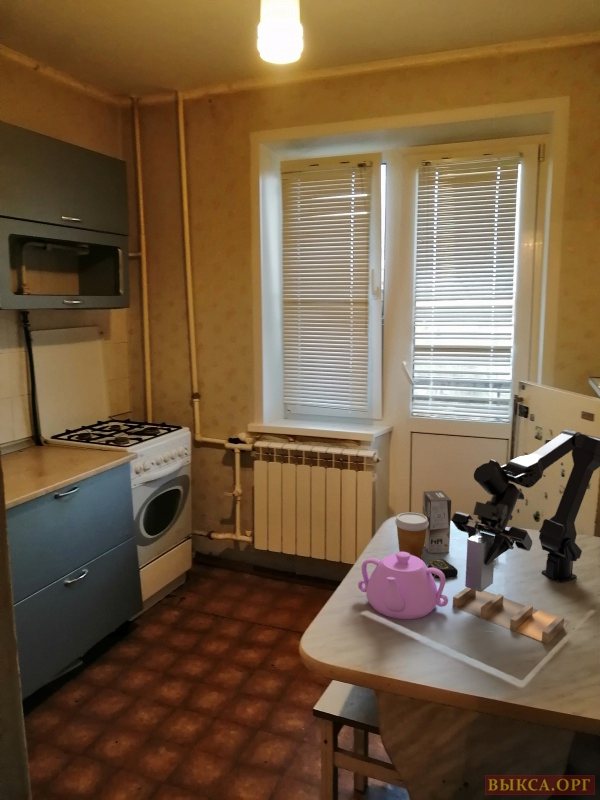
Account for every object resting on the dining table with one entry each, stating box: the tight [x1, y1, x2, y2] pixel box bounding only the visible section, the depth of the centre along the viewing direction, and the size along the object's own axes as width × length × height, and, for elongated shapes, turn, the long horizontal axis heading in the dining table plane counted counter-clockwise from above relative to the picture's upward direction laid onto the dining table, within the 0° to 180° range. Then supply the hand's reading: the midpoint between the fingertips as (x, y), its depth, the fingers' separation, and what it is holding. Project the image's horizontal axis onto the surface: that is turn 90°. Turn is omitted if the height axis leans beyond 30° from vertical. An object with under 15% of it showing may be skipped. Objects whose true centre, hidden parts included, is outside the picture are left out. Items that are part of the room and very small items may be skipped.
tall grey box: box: [464, 531, 495, 592], centre depth 145 cm, size 6×4×12 cm, turn 136°
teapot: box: [357, 551, 449, 620], centre depth 145 cm, size 22×22×14 cm
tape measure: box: [427, 558, 459, 580], centre depth 164 cm, size 7×7×4 cm
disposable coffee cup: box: [394, 512, 429, 560], centre depth 174 cm, size 10×10×12 cm
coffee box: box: [421, 490, 452, 554], centre depth 181 cm, size 9×6×16 cm
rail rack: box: [452, 587, 570, 645], centre depth 143 cm, size 12×23×4 cm, turn 46°
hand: (477, 561), depth 144 cm, fingers closed on tall grey box, 4 cm apart
